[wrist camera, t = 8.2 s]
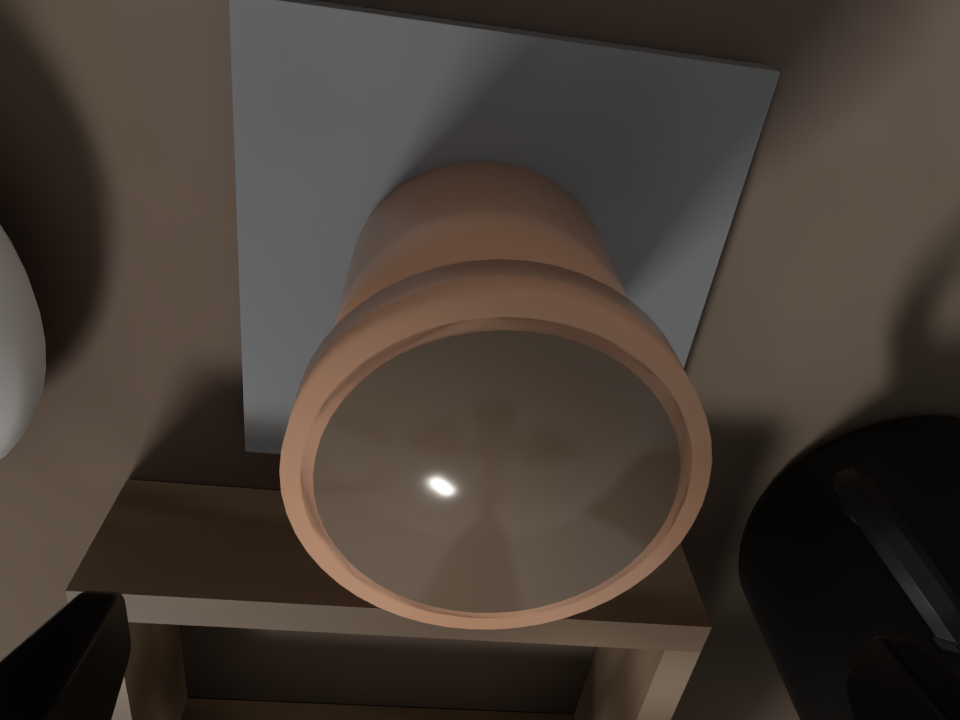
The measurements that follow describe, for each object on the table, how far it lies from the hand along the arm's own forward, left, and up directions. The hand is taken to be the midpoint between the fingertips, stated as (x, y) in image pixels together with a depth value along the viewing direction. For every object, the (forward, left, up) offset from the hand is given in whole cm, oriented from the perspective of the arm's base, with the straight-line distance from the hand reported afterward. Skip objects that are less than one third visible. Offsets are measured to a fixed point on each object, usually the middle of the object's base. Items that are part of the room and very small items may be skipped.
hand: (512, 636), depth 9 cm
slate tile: (0, 0, -11) cm, 11 cm away
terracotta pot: (0, 0, -10) cm, 10 cm away
